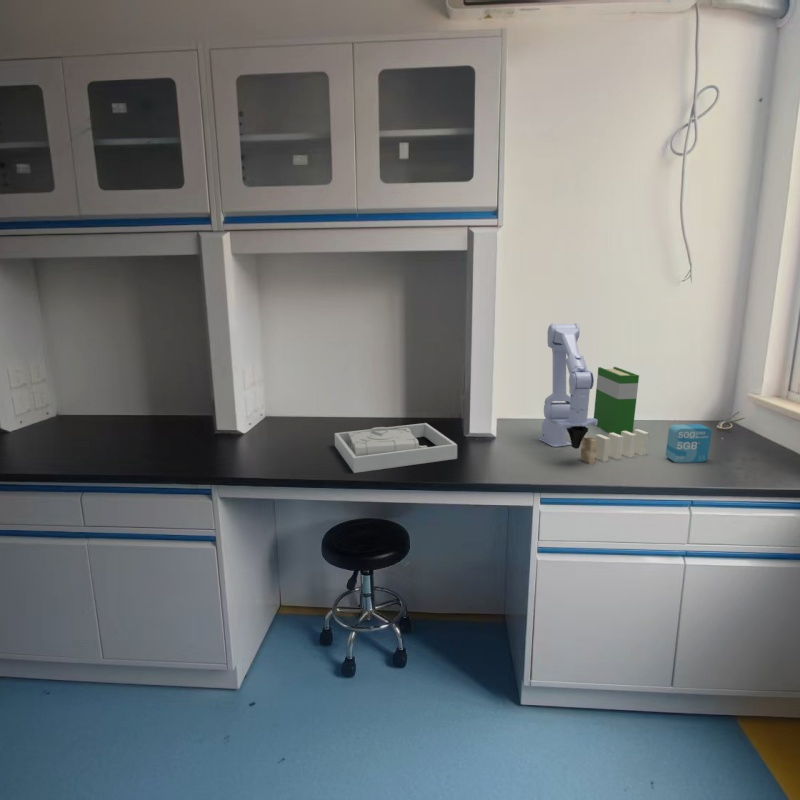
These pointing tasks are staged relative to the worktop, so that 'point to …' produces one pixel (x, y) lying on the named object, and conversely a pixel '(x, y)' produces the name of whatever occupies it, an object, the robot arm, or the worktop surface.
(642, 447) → the domino
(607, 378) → the hardback book
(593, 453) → the domino
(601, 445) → the domino
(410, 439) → the grey case
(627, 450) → the domino
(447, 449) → the tray
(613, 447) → the domino
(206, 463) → the worktop surface
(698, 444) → the data package
